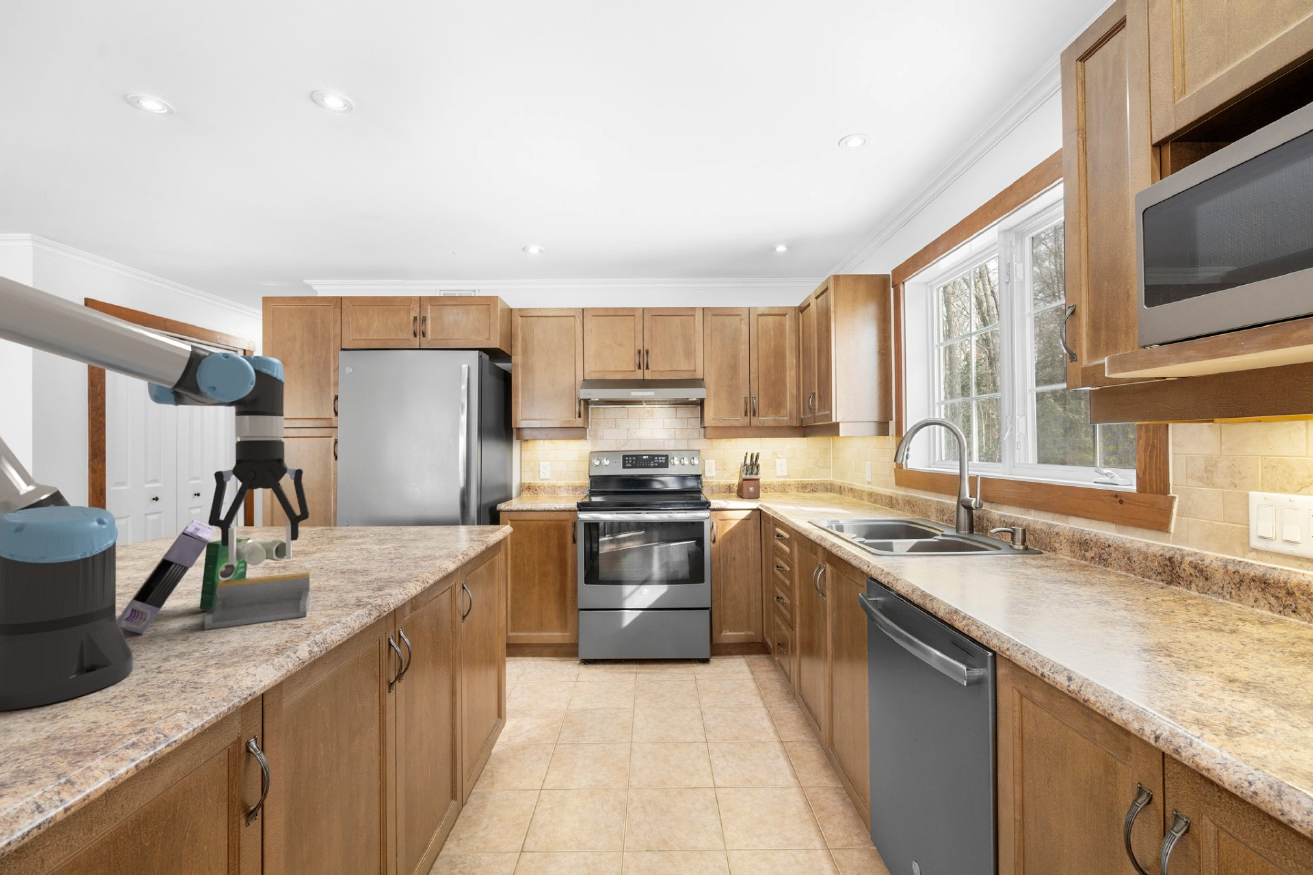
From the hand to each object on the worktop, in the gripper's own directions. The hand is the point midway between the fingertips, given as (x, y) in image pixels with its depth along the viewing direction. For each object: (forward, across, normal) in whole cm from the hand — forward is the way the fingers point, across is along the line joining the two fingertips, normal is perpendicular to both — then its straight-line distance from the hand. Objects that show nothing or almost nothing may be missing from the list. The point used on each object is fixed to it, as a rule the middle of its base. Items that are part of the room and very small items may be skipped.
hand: (261, 560), depth 107 cm
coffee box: (+10, +8, -12) cm, 18 cm away
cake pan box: (+10, +19, -5) cm, 22 cm away
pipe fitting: (0, +1, 0) cm, 1 cm away
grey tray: (+10, 0, -1) cm, 10 cm away
